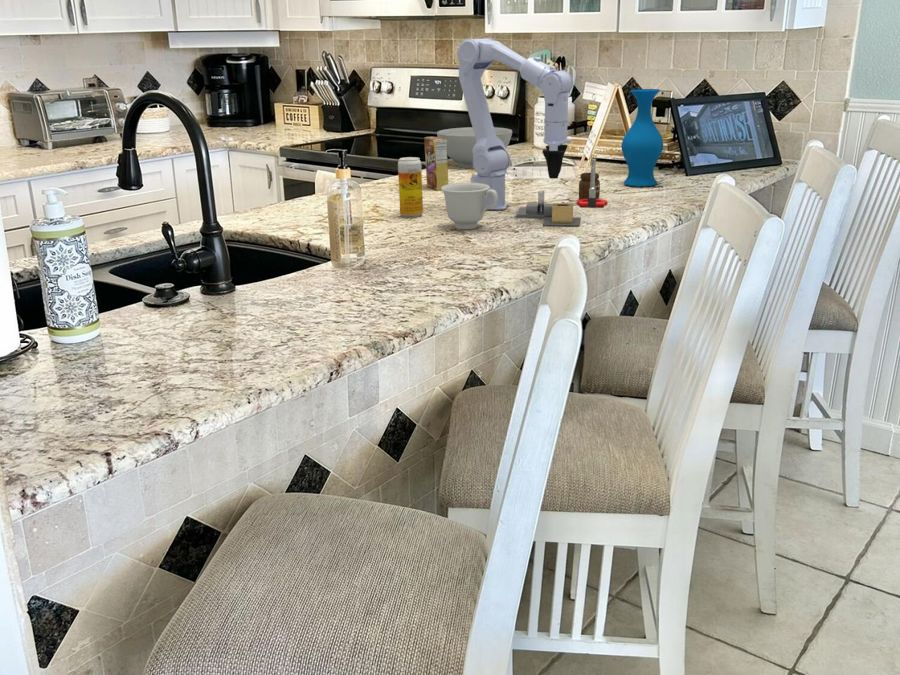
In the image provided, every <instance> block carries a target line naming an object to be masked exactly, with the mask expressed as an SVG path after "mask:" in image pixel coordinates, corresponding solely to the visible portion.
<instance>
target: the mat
mask: <svg viewBox="0 0 900 675" xmlns="http://www.w3.org/2000/svg"><path fill="white" fill-rule="evenodd" d="M543 219H544V221H543V222H542V227H565V228H567V227H569V228H571V227H573V228H574V227H576V228H578V227H580V226H581V219H582V217H580V216H579V217H577V216H576V217H575V216H573V221H572V223H552V217H545V218H543Z"/></svg>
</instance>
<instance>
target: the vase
mask: <svg viewBox="0 0 900 675" xmlns="http://www.w3.org/2000/svg"><path fill="white" fill-rule="evenodd" d="M630 92H631V93H632V95H633V96H634V98H635V100H636V103H637V113H636V117H635V119H634V121H633V123H632V125H631V126H630V128H629V129H628V130H627V131H626V133H625V134H624V135H623V139H622V141H621V153H622V156H623V158H624V160H625V163H626V164H627V168H628V173H627V177H626V178H625V179H624V182H623V184H624V185H625V186H629V187H638V188H639V187H640V188H645V187H653V186H655V185H657V184H658V181H657V179H656V178H655V175H654V170H655V167H656V165H657V163H658V161H659V158H660V157H661V156H662V153H663V150H664V139H663V136H662V134H661V132H660V131H659V130H658V128H657V126H656V125H655V123H654V120H653V117H652V103H653V101H654V99H655V97H656V96H657V95H658V94H659V92H661V89H658V88H657V89H656V88H640V89H639V88H638V89H635V88H634V89H631V90H630Z"/></svg>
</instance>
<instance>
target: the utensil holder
mask: <svg viewBox="0 0 900 675" xmlns="http://www.w3.org/2000/svg"><path fill="white" fill-rule="evenodd" d="M590 157H591V158H590V161H589V160H584V163H583V164H582V165H583V170H585V169H584V168H587V163H588V164H589V166H590V167H592V159H595V166H596V165H597V154H590ZM599 178H600V175H599V173H598V172H595V188H596V191H595V197H596V199H600V196H601V195H600V193H601V182H600V180H599ZM578 182H579V183H578V200H580V199H588V197H589V188H590V183H591V172H590V171H588V172H586V171H583V172H582V173H580V180H579V181H578Z"/></svg>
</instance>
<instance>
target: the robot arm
mask: <svg viewBox="0 0 900 675" xmlns="http://www.w3.org/2000/svg"><path fill="white" fill-rule="evenodd" d="M456 56H457V59H458V63H459V64H458V79H459V82H460V87H461V89H462V90H461V91H462V94H463V97H464V101H465V104H466V110H467V113H468V116H469V119H470V123H471V126H472V127H473V131H474V135H475V138H476V144H475V146H474V147H473V149H472V152H473V167H474V168H473V170H474V171H475V172H476V173H477V174H472V175H470V176H471V177H470V183H482V184H486V185H489V186H490V188H489V189H488V190H490V189H492V190H495V191H496V192H497V195H498V201H497V204H496V205H495V206H494V207H493V208H490V209H487V210H490V211H491V210H496V211H497V210H498V211H499V210H500V211H501V210H502V211H504V210H506V208H507V207H508V205H509V202H506V174H507V169H508V168H510V165H511V162H512V161H511V155H510V153H509V151H508V150H507V148H506V149H505V147H504V143H503V142H502V141H501V140H500V139H499V138H498V137H497V136H496V134H495V130H494V127H495V126H494V123H493V119H492V115H491V112H490V108H489V104H488V102H487V97H486V94H485V90H484V87H483V83H482V77H483V74H484V73H485V71H486V70H487V69H488V68H489V67H490V66H491V65H492V64H493V63H494V62H495V61H497V62H500V63H501V64H504V65H506V66H507V67H510V68H511V69H514V70H516V71H519V73H520V77H521V79H523V80H524V81H527V82H528V83H530V84H532V85H534V86H535V87H537V88H539V89H540V90H541V92H542V94H543V97H544V99H543V101H544V128H543V129H544V132H543V133H544V135H543V136H544V137H543V143H544V144H546V145H545V149H542V155H543V156H544V159H545V161H546V162H545V163H546V167H547V173H548V178H549V179H556V180H558V178H559V175H560V174H561V170H562V166H563V160H564V156H565V153H566V152H567V150H568V147H569V146H568V143H572V140H573V139H572V138H568V116H569V115H568V113H569V112H568V111H569V93H570V91H571V90H572V88H573V86H574V79H573V77H572V75H571V74H570V73H569V72H568V71H567V70H564V69H562V70H561V69H560V70H557V68H556V67H557V66H554V65H550V64H549V65H548V64H547V63H545V62H543V61H542V58H541V57H539V56H535V57H532V56H531V57H528V58H526V57H524V56H522V55H520V54H519V53H517V52H515V51H514V50H512V49H510V48H509V47H507V46H506V45H504V44H502V43H501V41H498V40H495V39H493V38H491V37H485V38H465V39H464V40H462V41H461V43H460V45H459V47H458V49H457V51H456ZM488 150H489V151H488ZM493 200H494V197H493V195H492V194H489V197H488V198H487V199H486V205H485V207H486V206H488V205H490V204H492V202H493ZM487 210H486V211H487Z"/></svg>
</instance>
